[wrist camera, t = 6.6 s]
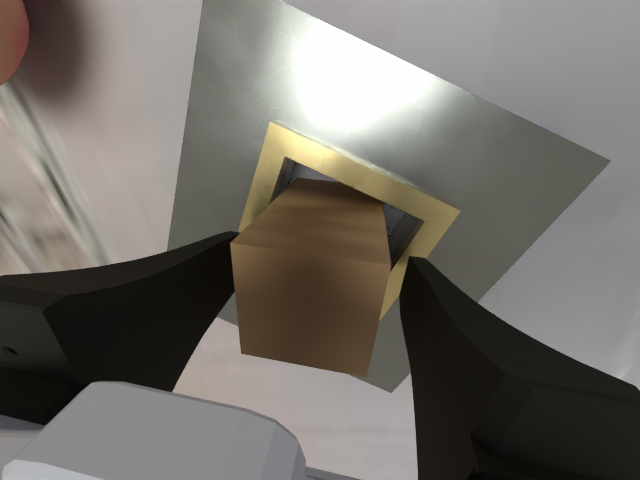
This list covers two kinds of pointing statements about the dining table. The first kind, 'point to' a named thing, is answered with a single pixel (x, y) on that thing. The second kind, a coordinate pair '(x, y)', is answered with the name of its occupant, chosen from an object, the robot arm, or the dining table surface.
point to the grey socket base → (364, 152)
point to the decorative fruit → (12, 36)
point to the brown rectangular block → (313, 277)
